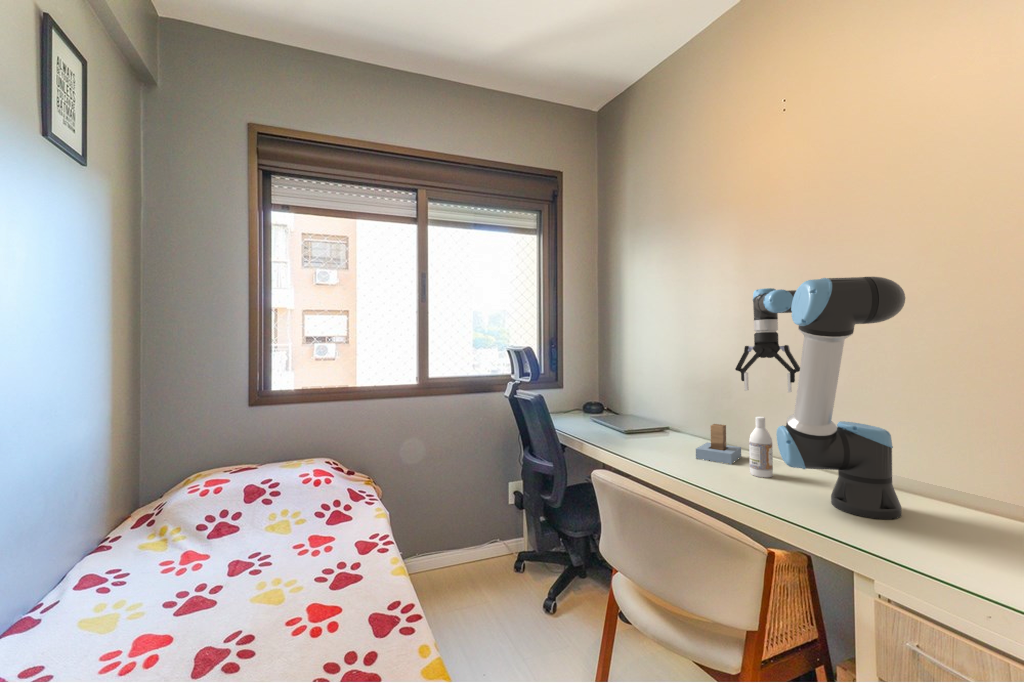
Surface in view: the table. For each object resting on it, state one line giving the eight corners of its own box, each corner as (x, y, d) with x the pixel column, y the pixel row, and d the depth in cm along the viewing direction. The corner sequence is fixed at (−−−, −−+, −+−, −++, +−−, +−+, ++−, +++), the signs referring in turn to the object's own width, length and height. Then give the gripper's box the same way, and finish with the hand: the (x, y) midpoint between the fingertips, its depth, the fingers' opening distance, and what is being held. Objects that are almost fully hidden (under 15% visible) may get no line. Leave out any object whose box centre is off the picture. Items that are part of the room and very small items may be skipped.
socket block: (731, 464, 164) (731, 454, 164) (695, 458, 173) (695, 448, 173) (741, 457, 174) (741, 447, 174) (707, 452, 183) (707, 442, 183)
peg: (722, 460, 170) (722, 426, 170) (711, 458, 173) (710, 425, 173) (726, 457, 174) (725, 425, 174) (714, 456, 177) (714, 423, 177)
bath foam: (769, 479, 147) (768, 419, 147) (746, 475, 152) (745, 417, 152) (775, 474, 152) (774, 417, 152) (753, 470, 157) (752, 414, 157)
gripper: (808, 330, 153) (810, 392, 152) (731, 333, 169) (732, 388, 168) (805, 330, 147) (807, 393, 146) (725, 333, 163) (727, 390, 163)
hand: (767, 391), depth 157 cm, fingers open, 13 cm apart
